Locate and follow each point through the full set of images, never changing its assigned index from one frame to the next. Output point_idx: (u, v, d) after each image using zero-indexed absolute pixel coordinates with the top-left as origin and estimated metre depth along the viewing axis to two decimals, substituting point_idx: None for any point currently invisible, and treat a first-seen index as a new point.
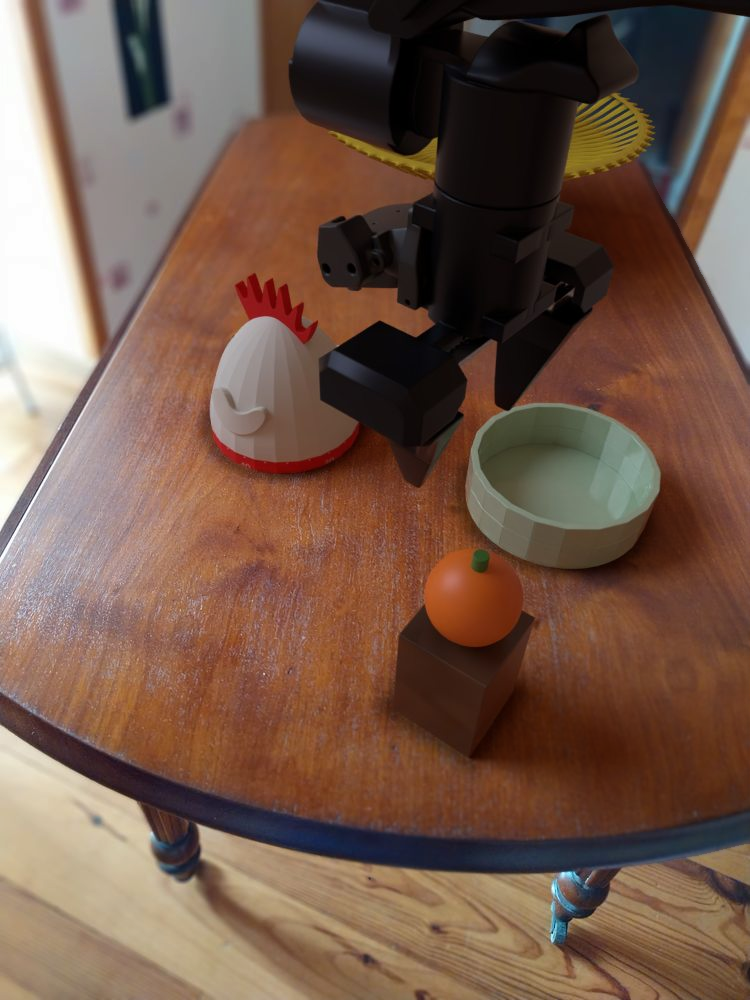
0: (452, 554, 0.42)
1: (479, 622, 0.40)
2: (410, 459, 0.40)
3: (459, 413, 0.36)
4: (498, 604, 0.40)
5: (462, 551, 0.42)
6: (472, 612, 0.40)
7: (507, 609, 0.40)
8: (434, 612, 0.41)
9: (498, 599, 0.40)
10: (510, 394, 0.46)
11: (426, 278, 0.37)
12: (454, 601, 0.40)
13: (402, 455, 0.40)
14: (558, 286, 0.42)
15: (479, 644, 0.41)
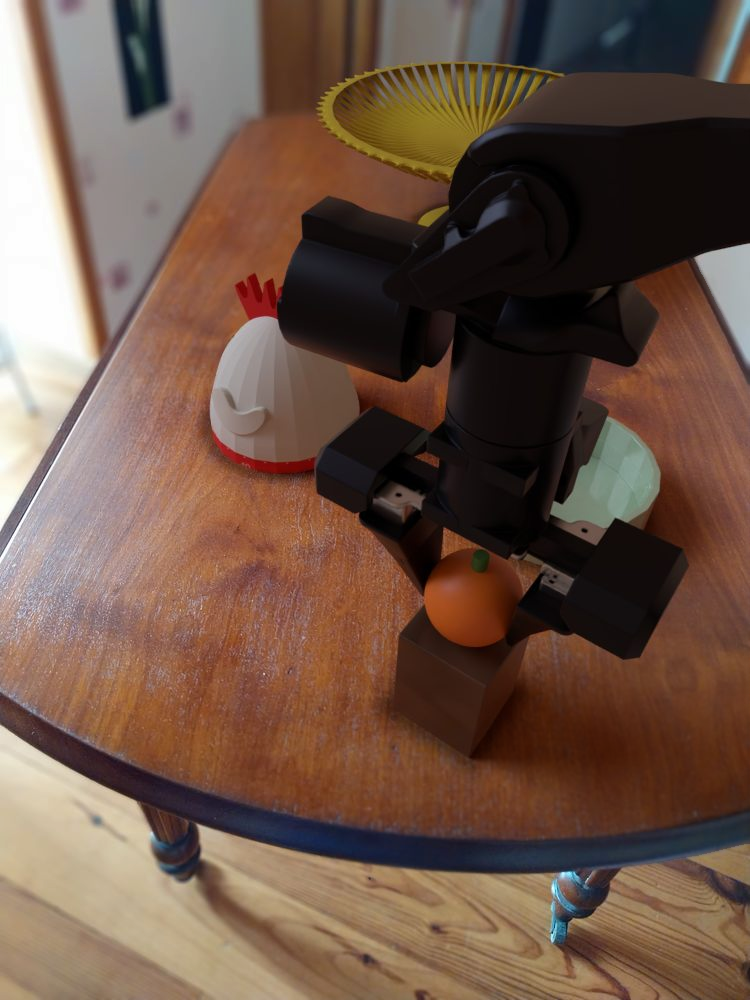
0: (452, 554, 0.42)
1: (479, 622, 0.40)
2: None
3: (399, 538, 0.39)
4: (498, 604, 0.40)
5: (462, 551, 0.42)
6: (472, 612, 0.40)
7: (507, 609, 0.40)
8: (434, 612, 0.41)
9: (498, 599, 0.40)
10: None
11: None
12: (454, 601, 0.40)
13: None
14: (568, 581, 0.36)
15: (479, 644, 0.41)
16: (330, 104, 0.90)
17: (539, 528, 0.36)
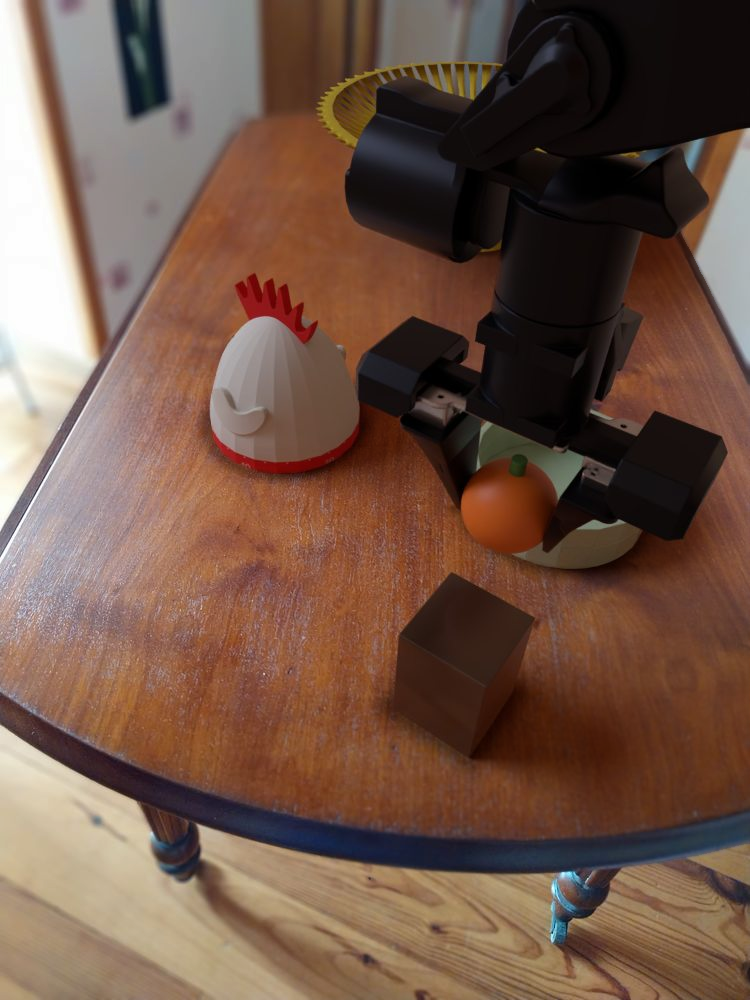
0: (488, 463, 0.43)
1: (518, 525, 0.41)
2: None
3: (441, 440, 0.40)
4: (536, 507, 0.41)
5: (498, 460, 0.43)
6: (511, 514, 0.41)
7: (545, 512, 0.41)
8: (472, 518, 0.42)
9: (536, 502, 0.41)
10: None
11: None
12: (493, 505, 0.41)
13: None
14: (609, 472, 0.37)
15: (516, 549, 0.42)
16: (330, 104, 0.90)
17: (581, 420, 0.37)
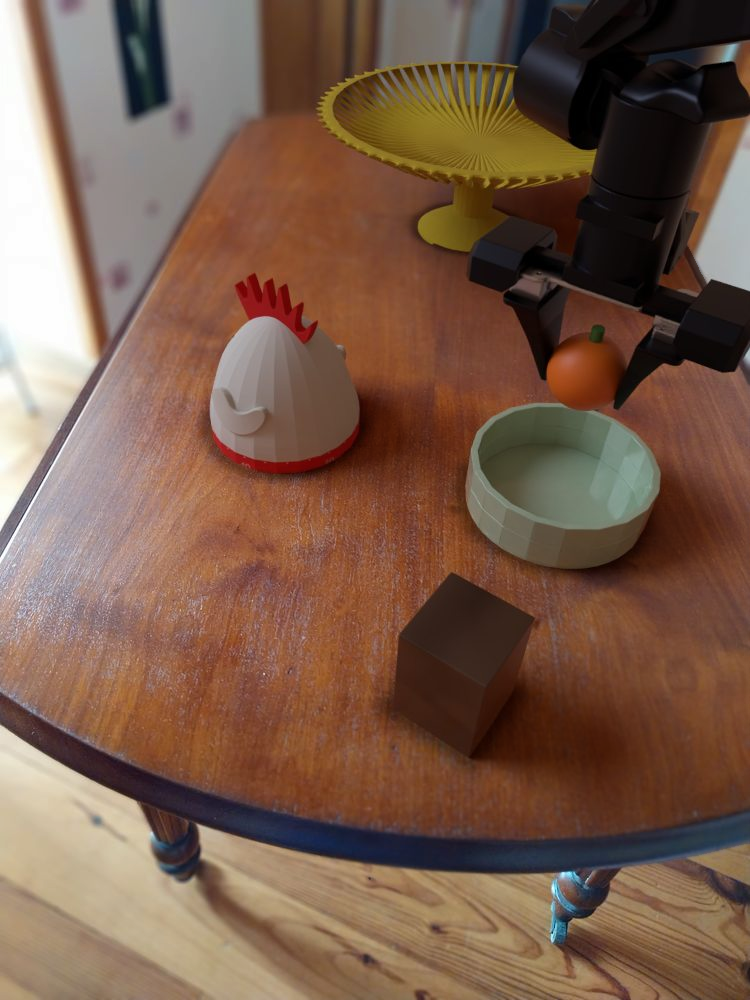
0: None
1: (597, 380, 0.51)
2: None
3: (538, 309, 0.50)
4: (611, 366, 0.51)
5: (579, 333, 0.53)
6: (592, 371, 0.51)
7: (618, 371, 0.52)
8: (558, 378, 0.53)
9: (612, 362, 0.51)
10: None
11: None
12: (577, 365, 0.52)
13: None
14: (675, 326, 0.47)
15: (594, 403, 0.53)
16: (330, 104, 0.90)
17: (654, 285, 0.47)
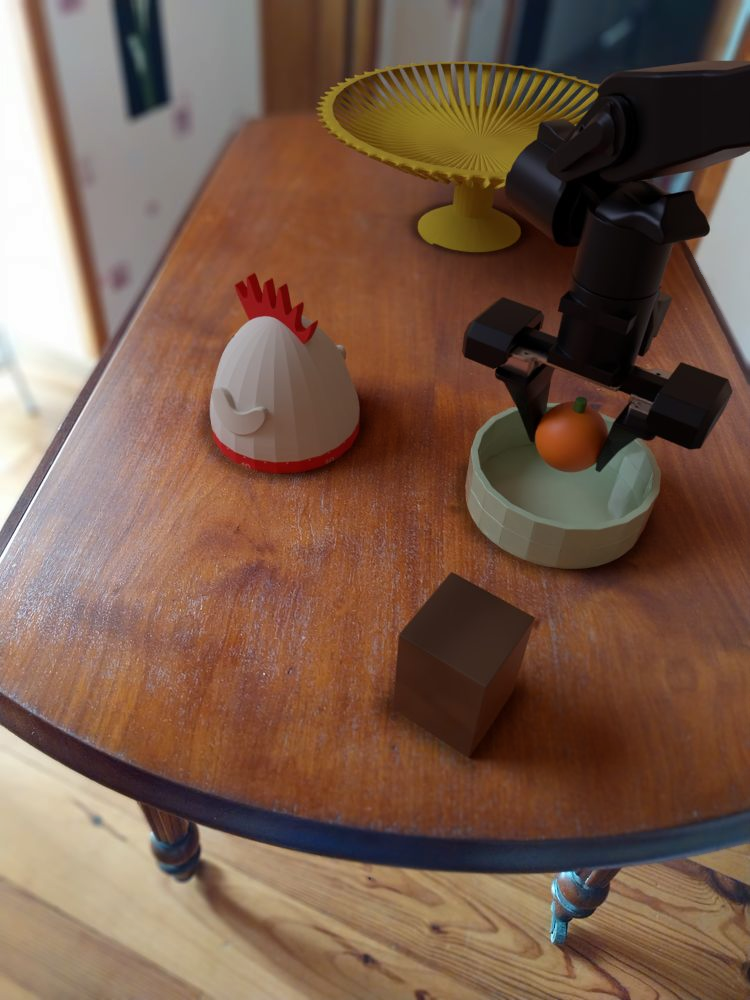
0: (557, 405, 0.59)
1: (580, 447, 0.57)
2: None
3: (526, 384, 0.56)
4: (593, 435, 0.57)
5: None
6: (575, 439, 0.57)
7: (599, 439, 0.57)
8: (545, 444, 0.58)
9: (593, 431, 0.57)
10: None
11: None
12: (562, 433, 0.57)
13: None
14: (648, 405, 0.52)
15: (577, 467, 0.58)
16: (330, 104, 0.90)
17: (629, 368, 0.52)
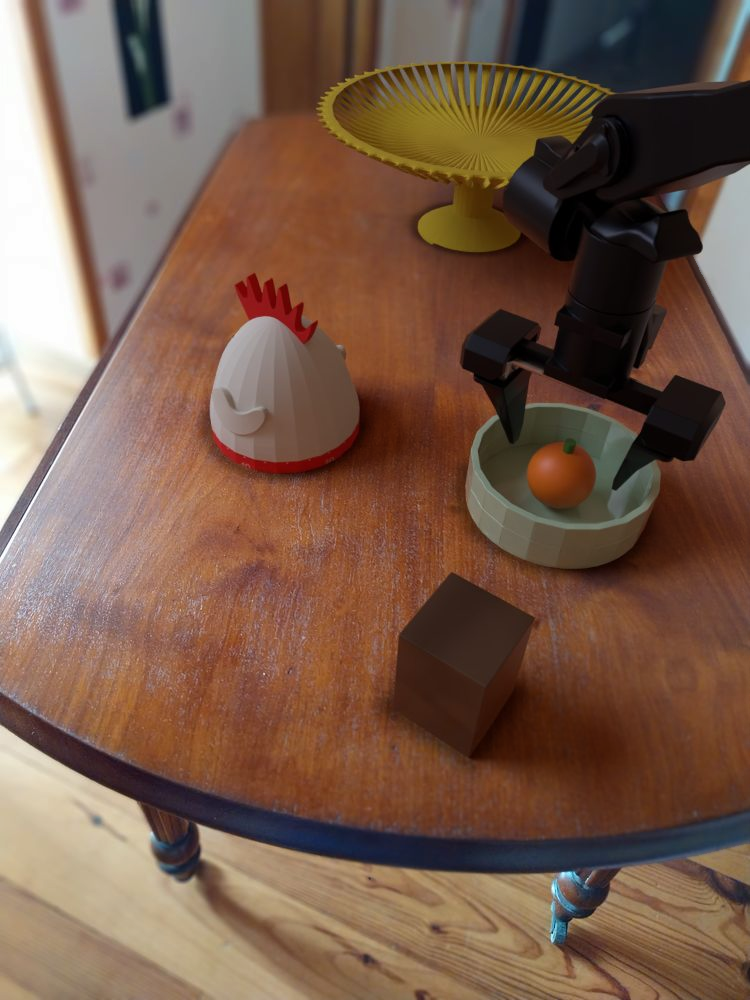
0: (547, 445, 0.62)
1: (569, 487, 0.60)
2: None
3: (503, 387, 0.57)
4: (581, 475, 0.60)
5: (554, 442, 0.62)
6: (564, 479, 0.60)
7: (587, 479, 0.60)
8: (536, 482, 0.61)
9: (581, 471, 0.60)
10: None
11: None
12: (552, 473, 0.60)
13: None
14: None
15: (566, 504, 0.61)
16: (330, 104, 0.90)
17: (624, 380, 0.53)
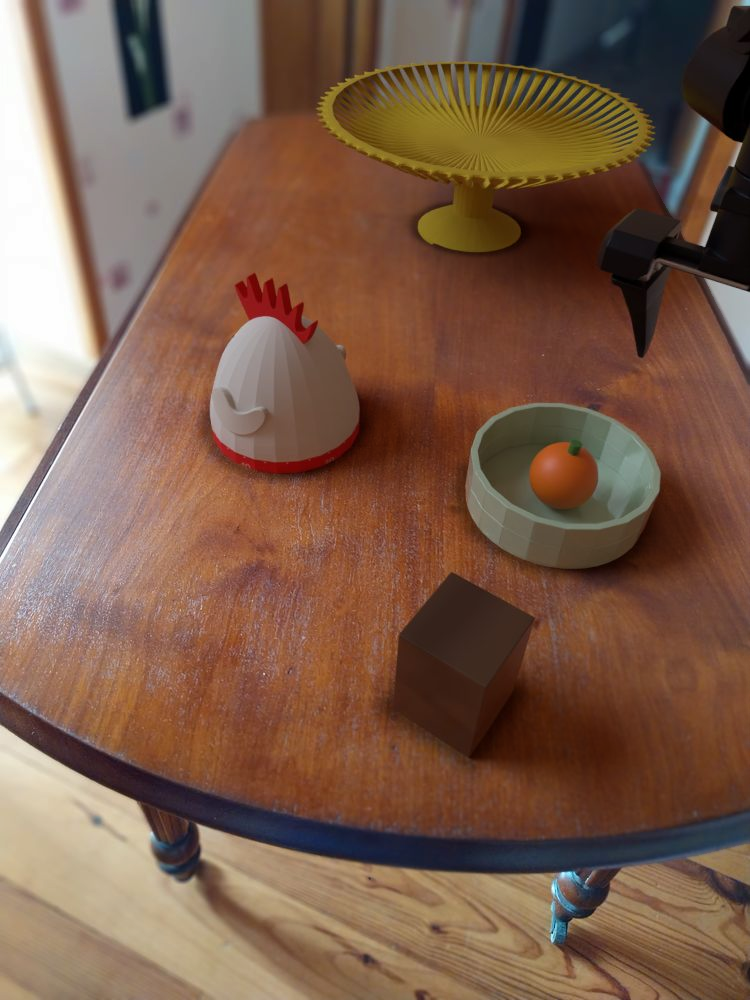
0: (552, 445, 0.62)
1: (572, 488, 0.60)
2: None
3: (646, 288, 0.53)
4: (585, 477, 0.60)
5: (559, 443, 0.62)
6: (568, 481, 0.60)
7: (590, 481, 0.60)
8: (539, 482, 0.61)
9: (585, 473, 0.60)
10: None
11: None
12: (556, 474, 0.60)
13: None
14: None
15: (568, 505, 0.61)
16: (330, 104, 0.90)
17: None
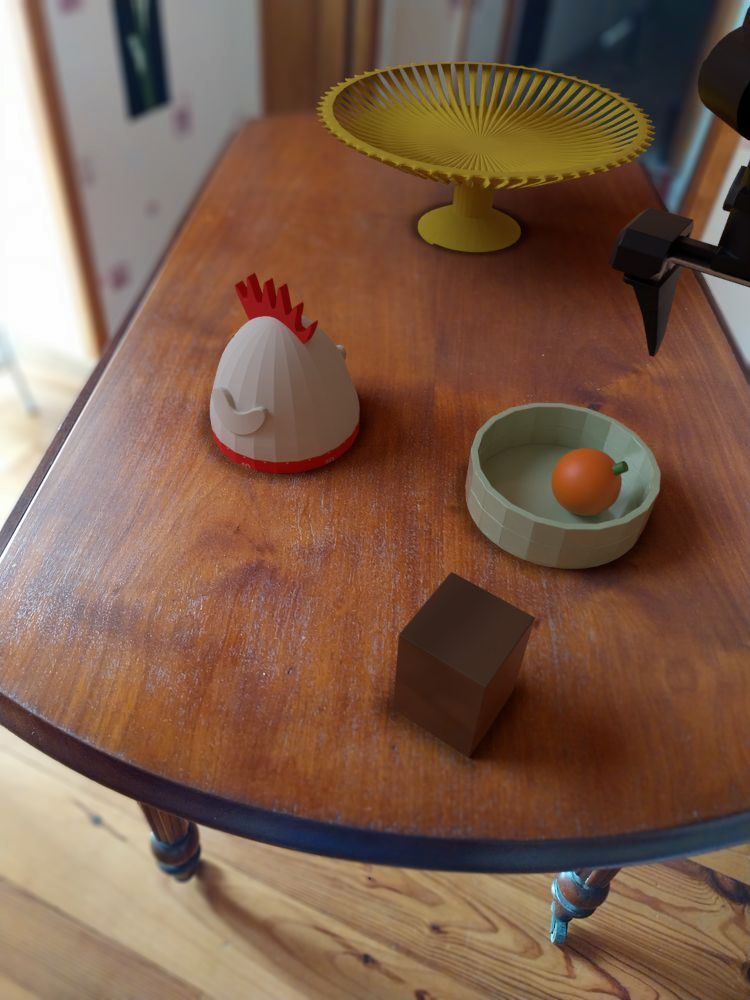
0: (596, 451, 0.61)
1: (599, 504, 0.60)
2: None
3: (658, 287, 0.54)
4: (613, 498, 0.60)
5: (603, 453, 0.61)
6: (601, 496, 0.59)
7: (612, 503, 0.61)
8: (573, 483, 0.60)
9: (615, 495, 0.60)
10: None
11: None
12: (595, 485, 0.59)
13: None
14: None
15: (580, 513, 0.61)
16: (330, 104, 0.90)
17: None
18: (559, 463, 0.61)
